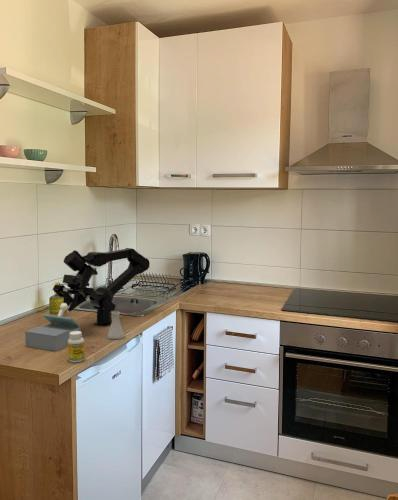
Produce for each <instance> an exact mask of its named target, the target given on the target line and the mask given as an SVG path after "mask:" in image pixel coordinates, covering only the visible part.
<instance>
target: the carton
mask: <svg viewBox="0 0 398 500" xmlns="http://www.w3.org/2000/svg"><path fill="white" fill-rule="evenodd" d="M73 331H81V326H80V327H76V326H69V325H62V324H55V323H51V322H49V323H47V324H45V325H42V326H36V327H34V328H30V329H28V330H25V331H24V334H25V335H24V336H25V337H24V338H25V340H24V341H25V347H28V348H35V349H40V350H46V351H51V352H52V351H53V352H58V351H59V350H62V349H63V348H66V347H68V340H69V339H70V332H73Z"/></svg>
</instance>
